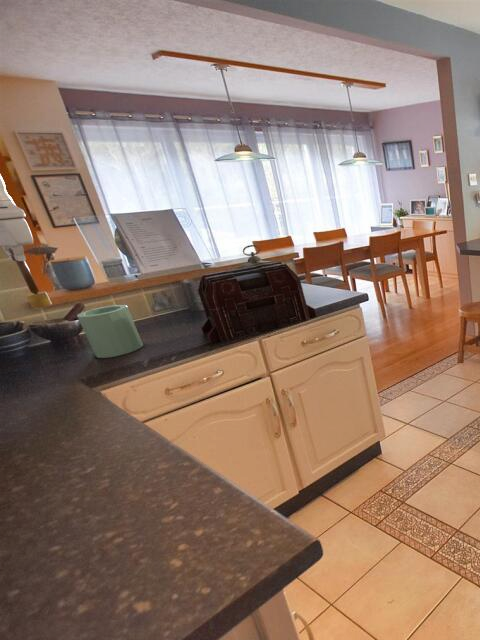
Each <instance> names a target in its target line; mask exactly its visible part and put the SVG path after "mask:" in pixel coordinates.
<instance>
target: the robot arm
mask: <svg viewBox="0 0 480 640" xmlns="http://www.w3.org/2000/svg"><path fill="white" fill-rule="evenodd" d="M26 217H27V215H26V213H25V210H23V209H22V208H21V207H19V206H17V205H16V203H15V202H14V200H13V198H12V197H11V196H10V195H9V194H8V191H7V189H6V184H5V181H4V179H3V177H2V175H1V174H0V247H2V250H3V251H4V252H5V253H6V254H7V255H8V257H9V259H10V261H12V262H16V261H25V262H26V260H27V257H26V256H25V249H24V246H31V245H34V237H33V234H32V231H31V229H30V227H29V224H28V222H27V221H26V219H25V218H26ZM10 247H11V249H12V250H13V252H14V257H15V259H16V261H15V259H14V257H13V255H12V254H11V253H10V252H9V248H10Z"/></svg>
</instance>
